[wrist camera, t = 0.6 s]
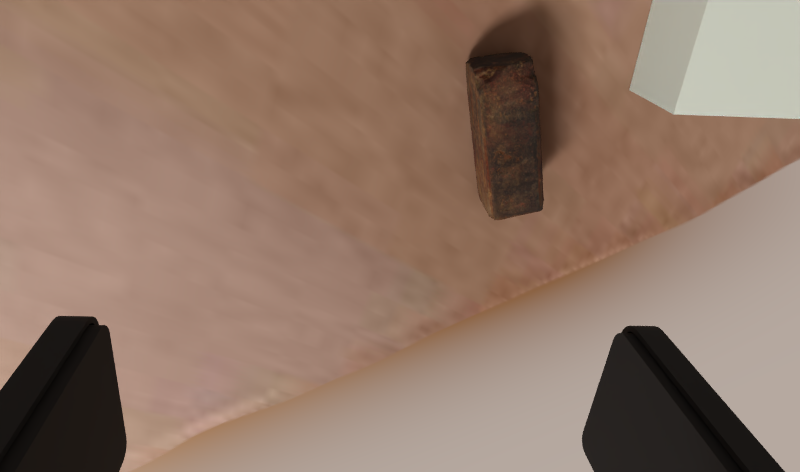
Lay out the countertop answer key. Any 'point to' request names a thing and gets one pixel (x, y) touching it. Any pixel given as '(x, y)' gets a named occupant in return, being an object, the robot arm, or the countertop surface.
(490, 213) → the brick
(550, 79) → the countertop surface
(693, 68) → the sage block
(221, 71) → the countertop surface
